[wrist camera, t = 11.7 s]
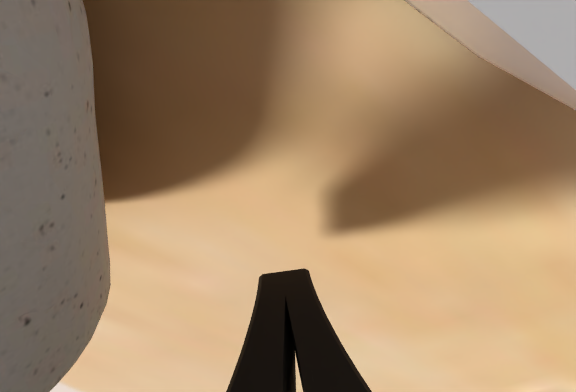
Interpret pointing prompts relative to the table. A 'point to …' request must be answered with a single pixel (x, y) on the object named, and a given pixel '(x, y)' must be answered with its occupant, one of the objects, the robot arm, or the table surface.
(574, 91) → the slate pot
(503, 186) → the table surface
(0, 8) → the ceramic mug
